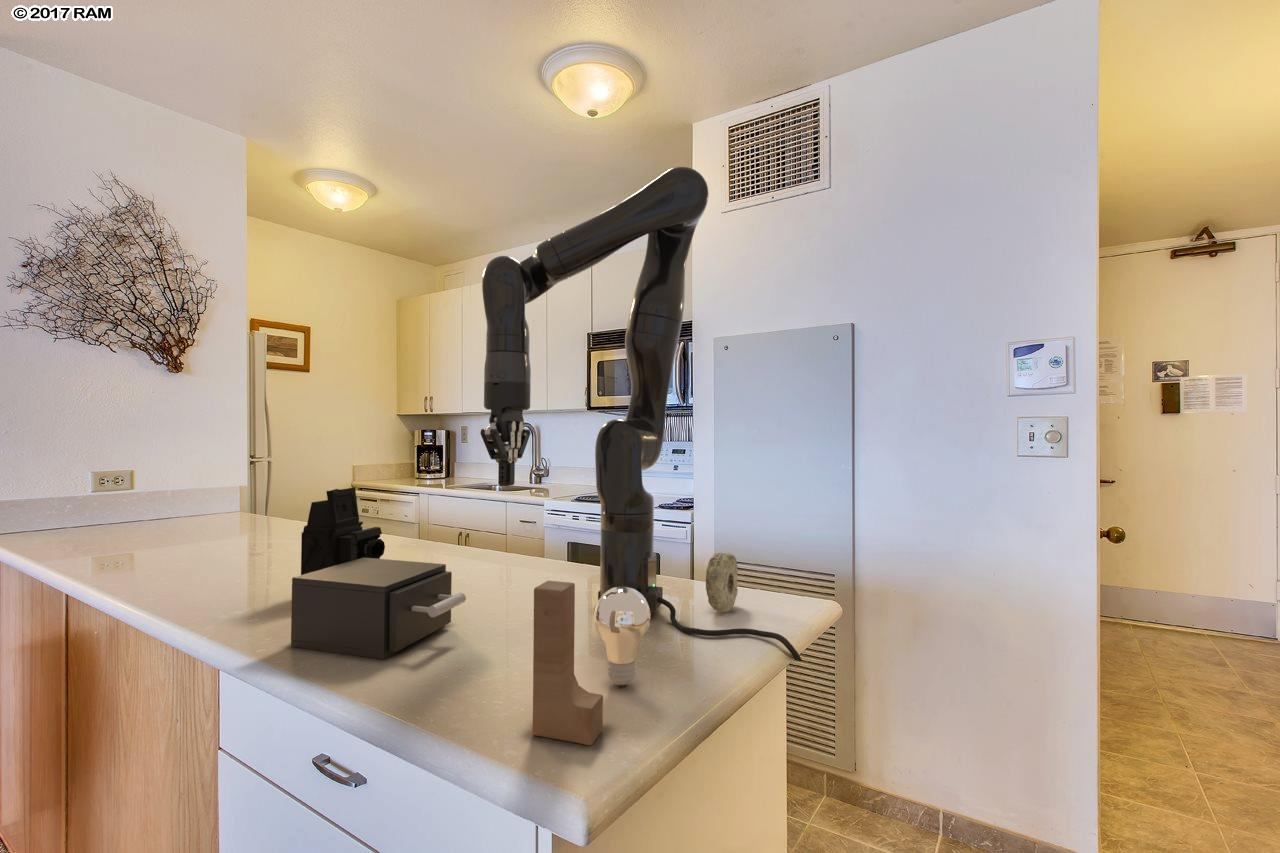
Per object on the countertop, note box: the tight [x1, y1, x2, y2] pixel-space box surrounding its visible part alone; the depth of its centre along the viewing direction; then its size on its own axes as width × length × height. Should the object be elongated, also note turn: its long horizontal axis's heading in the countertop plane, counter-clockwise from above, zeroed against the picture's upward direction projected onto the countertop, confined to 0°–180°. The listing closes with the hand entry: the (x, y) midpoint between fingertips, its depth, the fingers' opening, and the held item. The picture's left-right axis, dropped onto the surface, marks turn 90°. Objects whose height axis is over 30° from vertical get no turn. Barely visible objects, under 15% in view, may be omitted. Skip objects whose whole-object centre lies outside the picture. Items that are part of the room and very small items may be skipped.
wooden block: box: [531, 580, 604, 746], centre depth 58 cm, size 7×3×15 cm, turn 73°
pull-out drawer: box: [388, 570, 467, 653], centre depth 84 cm, size 19×13×8 cm, turn 74°
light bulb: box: [593, 586, 652, 688], centre depth 69 cm, size 7×7×12 cm
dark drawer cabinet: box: [290, 558, 447, 660], centre depth 85 cm, size 16×14×10 cm
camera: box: [300, 486, 386, 575], centre depth 105 cm, size 10×14×20 cm
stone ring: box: [705, 552, 739, 613], centre depth 99 cm, size 10×4×10 cm, turn 150°
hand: (506, 485), depth 94 cm, fingers closed
